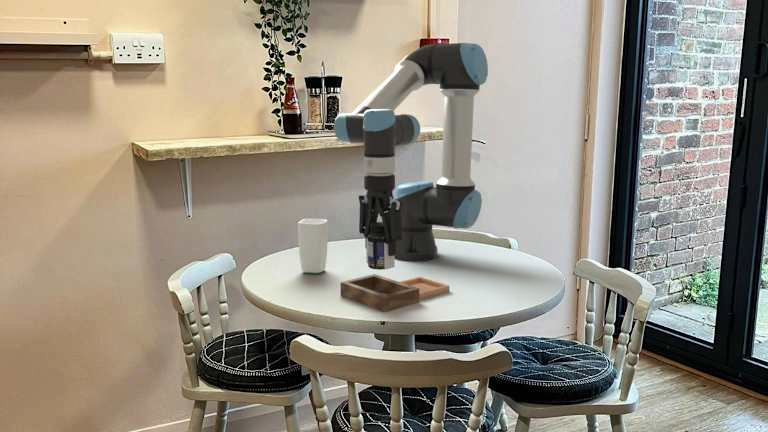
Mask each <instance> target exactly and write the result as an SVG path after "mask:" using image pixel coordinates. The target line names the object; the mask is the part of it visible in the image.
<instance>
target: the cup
mask: <svg viewBox="0 0 768 432" xmlns="http://www.w3.org/2000/svg"><path fill="white" fill-rule="evenodd" d="M328 222H329V221H328V220H327V219H326V218H303V219H301V220H299V221H298V222H297V232H298V235H297V237H298V238H297V239H298V251H299V252H298V253H299V261H300V267H301V272H303V273H305V274H314V275H315V274H316V275H317V274H321V273H323V272H324V270H325V269H326V264H327V257H328V243H329V242H328V239H329V238H328V235H329V234H328V233H329V232H328V230H329V229H328V228H329V227H328Z"/></svg>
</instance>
